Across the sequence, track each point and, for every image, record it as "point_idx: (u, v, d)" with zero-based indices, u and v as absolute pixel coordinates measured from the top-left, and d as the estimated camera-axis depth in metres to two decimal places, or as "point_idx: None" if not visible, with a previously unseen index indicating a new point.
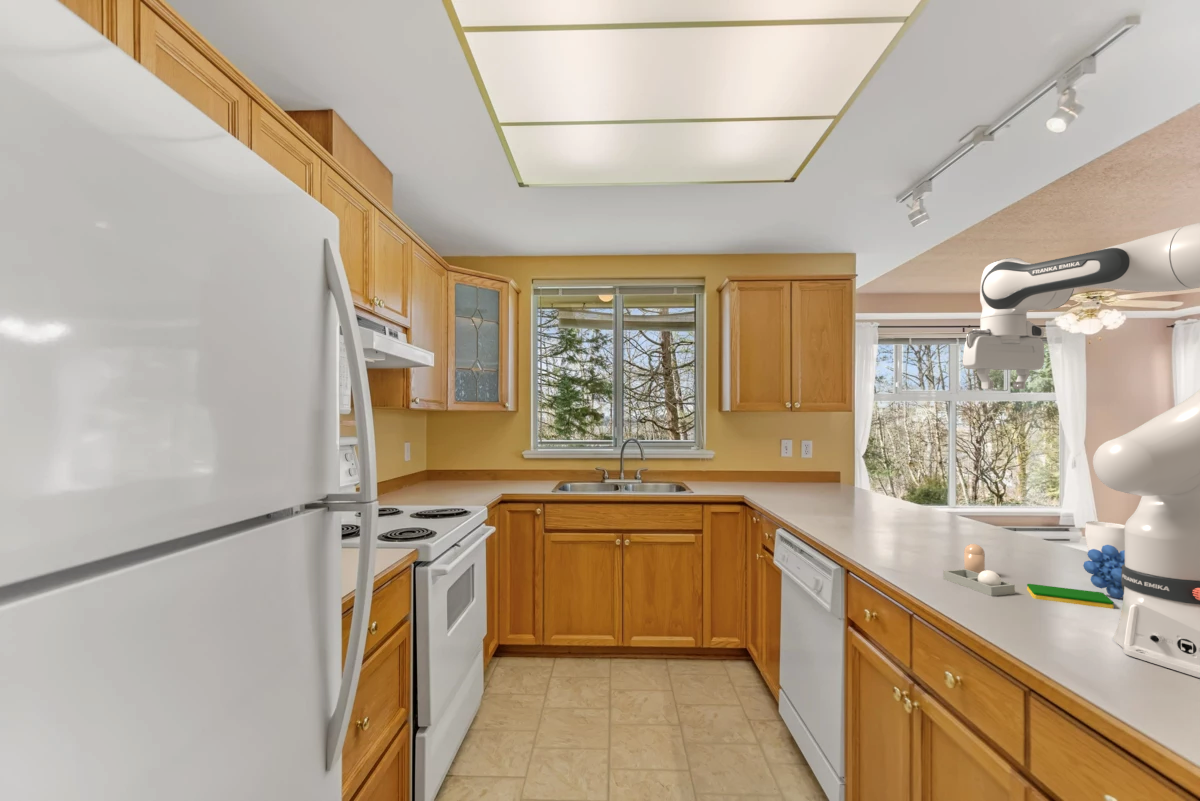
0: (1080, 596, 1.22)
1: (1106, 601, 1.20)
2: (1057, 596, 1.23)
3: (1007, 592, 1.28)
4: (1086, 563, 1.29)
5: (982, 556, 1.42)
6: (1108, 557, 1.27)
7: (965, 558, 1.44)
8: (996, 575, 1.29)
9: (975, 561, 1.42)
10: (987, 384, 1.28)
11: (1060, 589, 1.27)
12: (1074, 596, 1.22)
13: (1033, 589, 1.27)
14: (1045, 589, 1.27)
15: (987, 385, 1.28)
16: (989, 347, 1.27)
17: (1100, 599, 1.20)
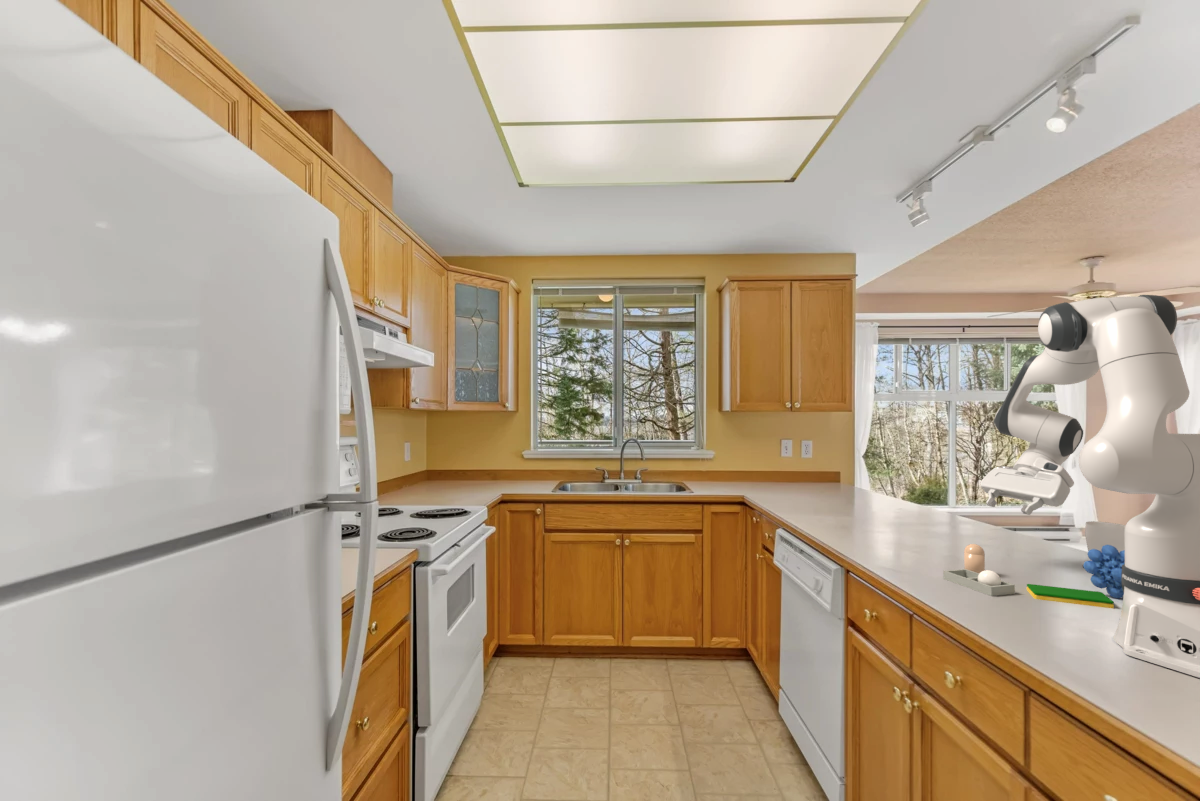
0: (1080, 596, 1.22)
1: (1106, 601, 1.20)
2: (1058, 596, 1.23)
3: (1007, 592, 1.28)
4: (1086, 563, 1.29)
5: (982, 556, 1.42)
6: (1108, 557, 1.27)
7: (965, 558, 1.44)
8: (996, 575, 1.29)
9: (975, 561, 1.42)
10: None
11: (1060, 589, 1.27)
12: (1075, 596, 1.22)
13: (1033, 589, 1.27)
14: (1045, 589, 1.27)
15: None
16: (1001, 475, 1.54)
17: (1100, 599, 1.21)
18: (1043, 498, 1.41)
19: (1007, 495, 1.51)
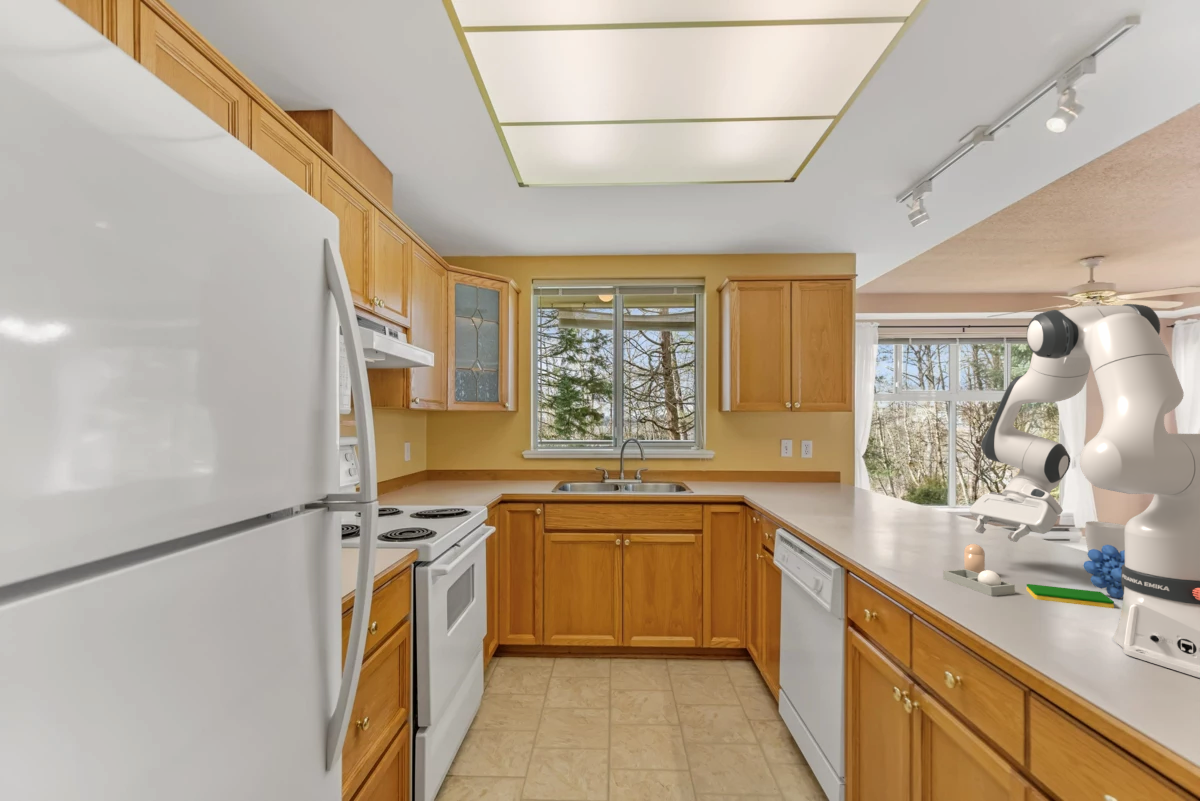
0: (1081, 596, 1.22)
1: (1107, 601, 1.20)
2: (1058, 596, 1.23)
3: (1007, 592, 1.28)
4: (1086, 563, 1.29)
5: (982, 556, 1.42)
6: (1108, 557, 1.27)
7: (965, 558, 1.44)
8: (996, 575, 1.29)
9: (975, 561, 1.42)
10: None
11: (1060, 589, 1.27)
12: (1075, 596, 1.22)
13: (1034, 589, 1.27)
14: (1045, 589, 1.27)
15: None
16: (990, 501, 1.52)
17: (1100, 599, 1.21)
18: (1029, 525, 1.39)
19: (996, 522, 1.49)
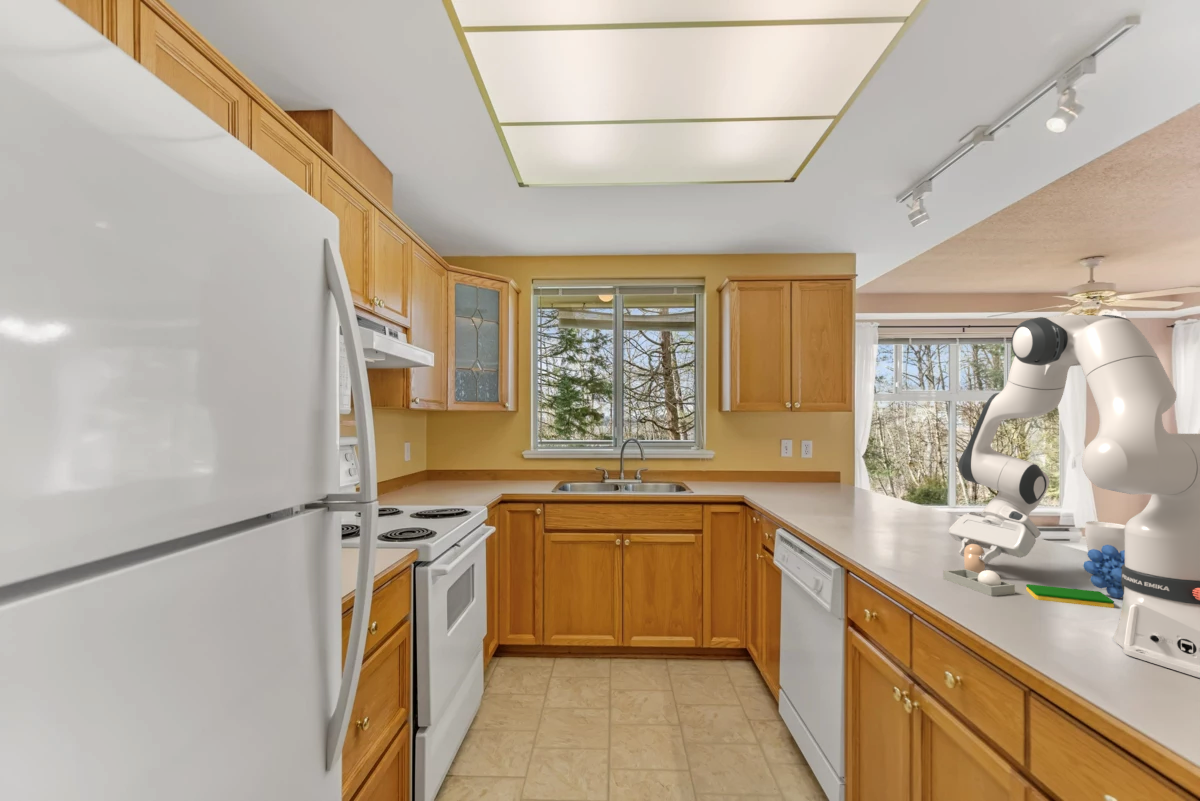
0: (1081, 596, 1.22)
1: (1107, 600, 1.20)
2: (1059, 596, 1.23)
3: (1007, 592, 1.28)
4: (1086, 563, 1.29)
5: None
6: (1108, 557, 1.27)
7: (965, 558, 1.44)
8: (996, 575, 1.29)
9: (975, 561, 1.42)
10: None
11: (1059, 589, 1.27)
12: (1075, 596, 1.22)
13: (1034, 590, 1.26)
14: (1046, 589, 1.27)
15: None
16: (969, 522, 1.51)
17: (1101, 598, 1.21)
18: (1007, 548, 1.37)
19: (975, 543, 1.48)
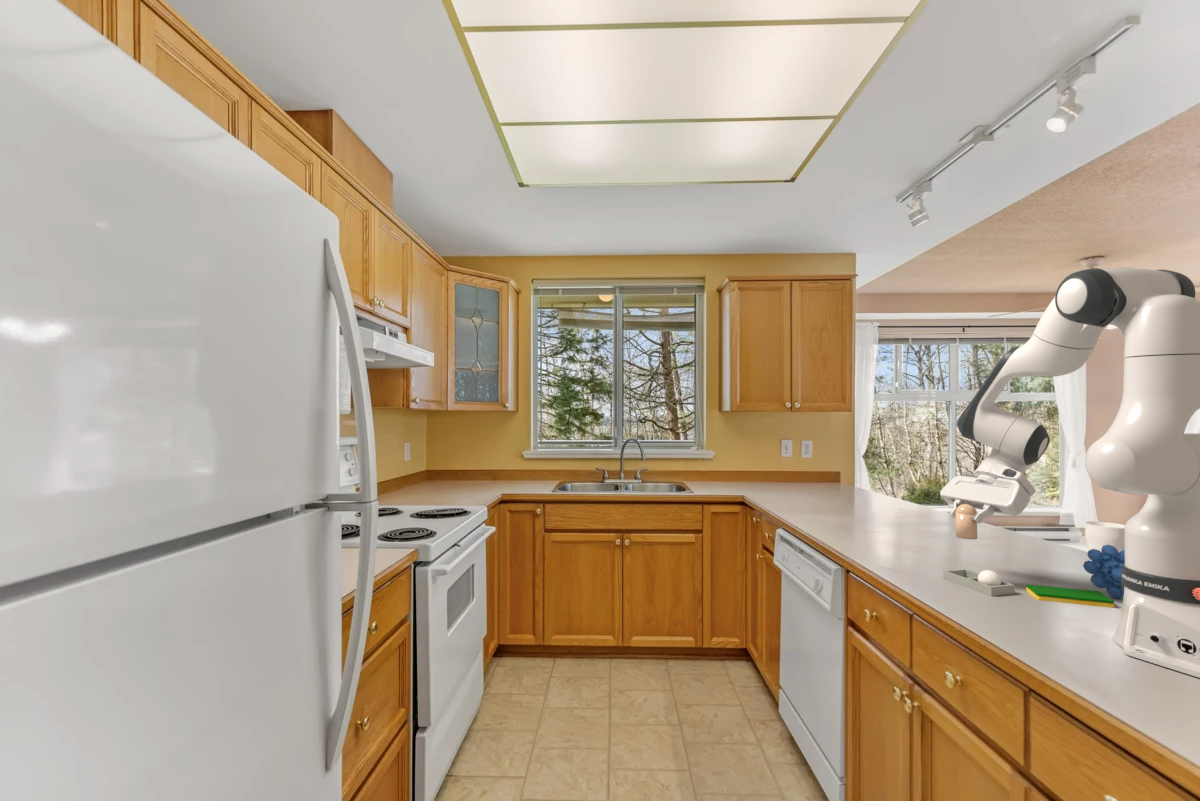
0: (1081, 596, 1.22)
1: (1107, 600, 1.20)
2: (1060, 597, 1.23)
3: (1007, 592, 1.28)
4: (1086, 563, 1.29)
5: None
6: (1108, 557, 1.27)
7: (957, 519, 1.37)
8: (996, 575, 1.29)
9: (967, 521, 1.35)
10: None
11: (1059, 589, 1.27)
12: (1076, 596, 1.22)
13: (1035, 590, 1.26)
14: (1046, 590, 1.26)
15: None
16: (961, 483, 1.44)
17: (1101, 598, 1.21)
18: (1000, 506, 1.30)
19: None
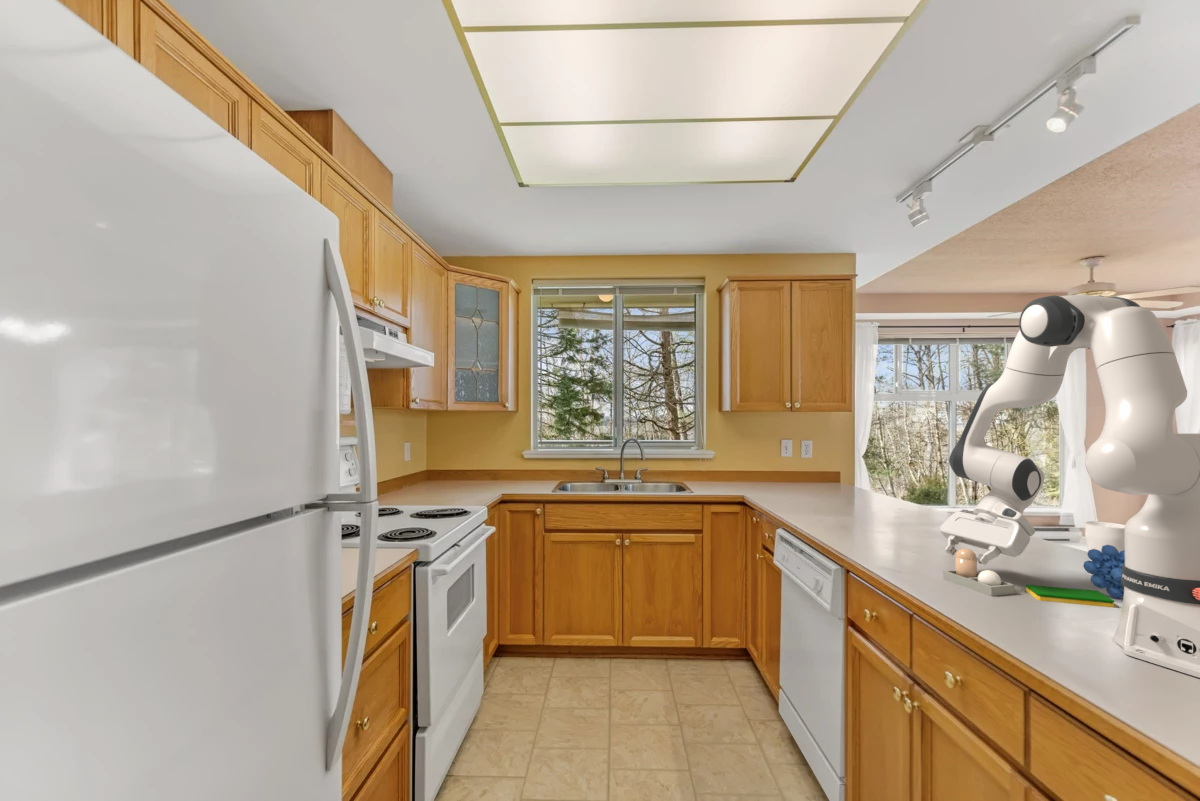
0: (1082, 596, 1.22)
1: (1107, 600, 1.20)
2: (1061, 597, 1.23)
3: (1007, 592, 1.28)
4: (1086, 563, 1.29)
5: (974, 561, 1.35)
6: (1108, 557, 1.27)
7: (956, 563, 1.37)
8: (996, 575, 1.29)
9: (967, 567, 1.35)
10: None
11: (1059, 589, 1.27)
12: (1076, 596, 1.22)
13: (1036, 590, 1.26)
14: (1046, 590, 1.26)
15: None
16: (961, 520, 1.44)
17: (1101, 598, 1.21)
18: (1000, 547, 1.30)
19: (967, 542, 1.41)
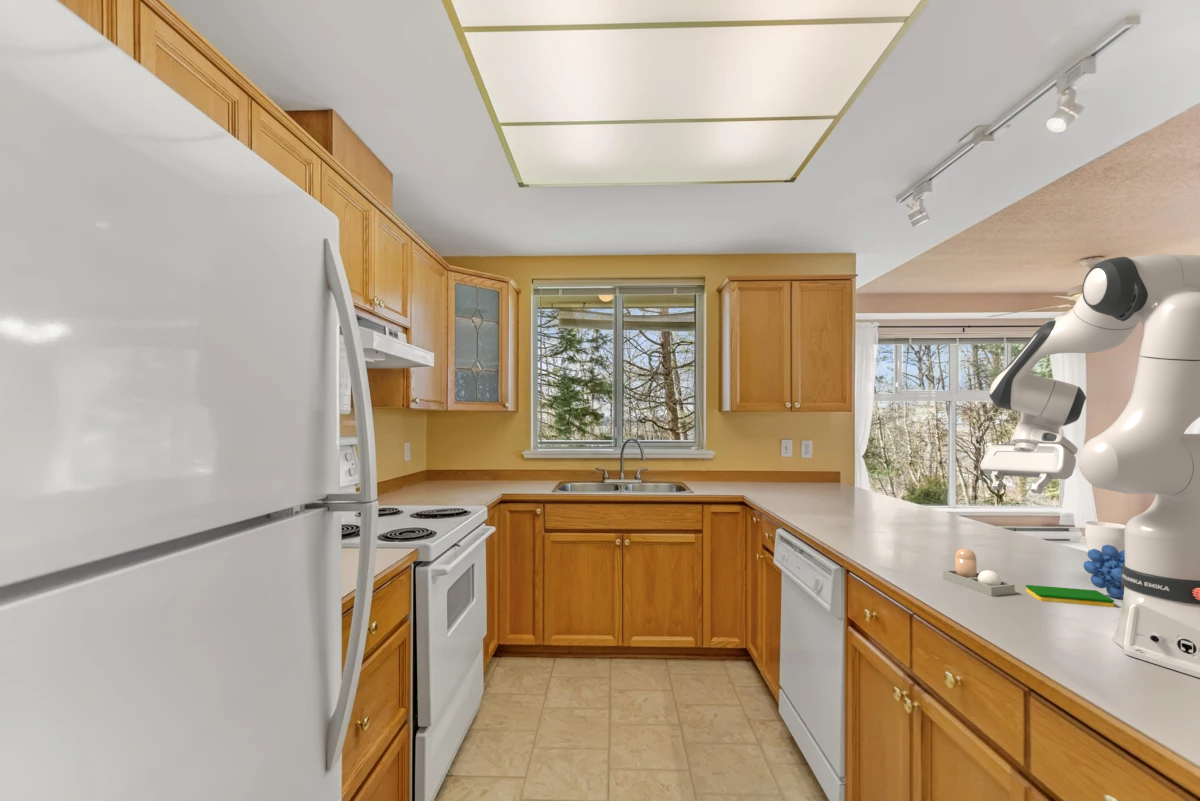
0: (1082, 596, 1.22)
1: (1107, 600, 1.20)
2: (1061, 597, 1.23)
3: (1007, 592, 1.28)
4: (1086, 563, 1.29)
5: (973, 561, 1.35)
6: (1108, 557, 1.27)
7: (956, 563, 1.37)
8: (996, 575, 1.29)
9: (966, 566, 1.35)
10: None
11: (1059, 589, 1.27)
12: (1077, 596, 1.22)
13: (1036, 591, 1.26)
14: (1046, 590, 1.26)
15: None
16: (1000, 453, 1.44)
17: (1101, 598, 1.21)
18: (1050, 473, 1.30)
19: (1011, 474, 1.41)
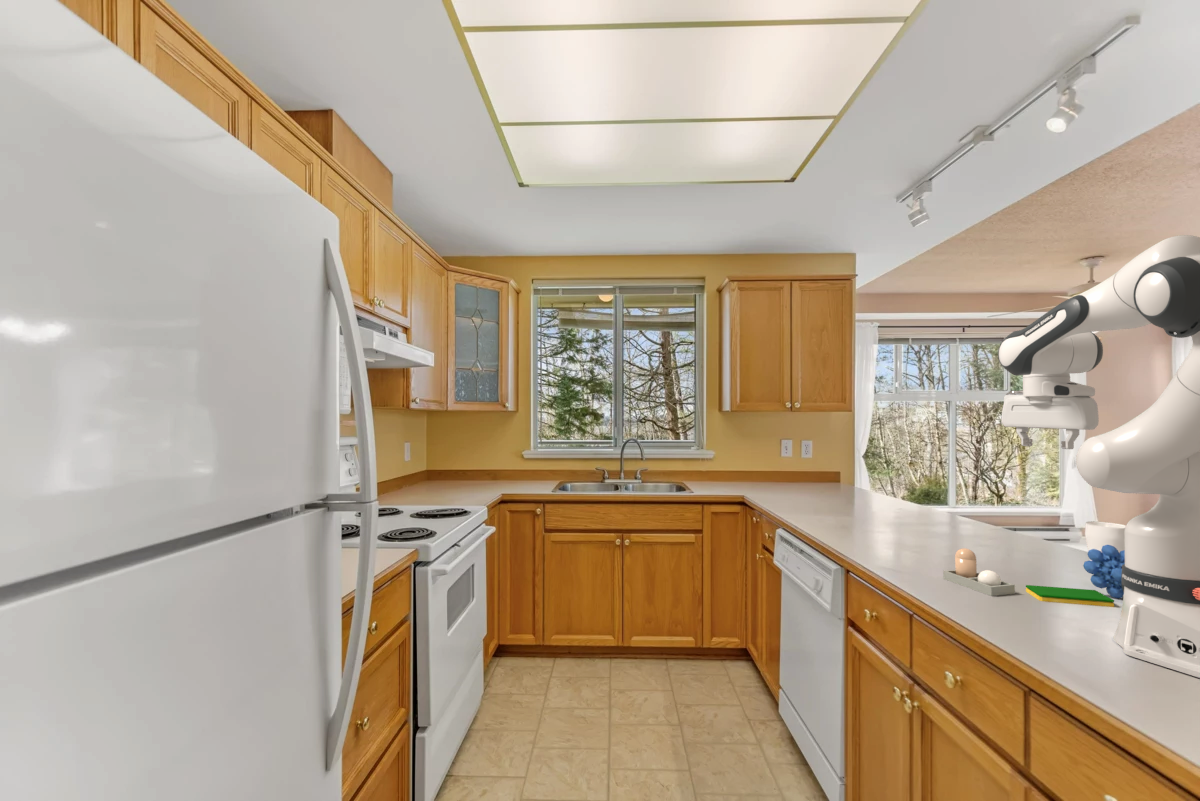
0: (1082, 596, 1.22)
1: (1107, 599, 1.20)
2: (1062, 597, 1.23)
3: (1007, 592, 1.28)
4: (1086, 563, 1.29)
5: (973, 561, 1.35)
6: (1108, 557, 1.27)
7: (956, 563, 1.37)
8: (996, 575, 1.29)
9: (966, 566, 1.35)
10: None
11: (1059, 589, 1.27)
12: (1077, 596, 1.22)
13: (1037, 591, 1.26)
14: (1047, 590, 1.26)
15: None
16: (1017, 407, 1.37)
17: (1101, 598, 1.21)
18: (1076, 429, 1.24)
19: None
